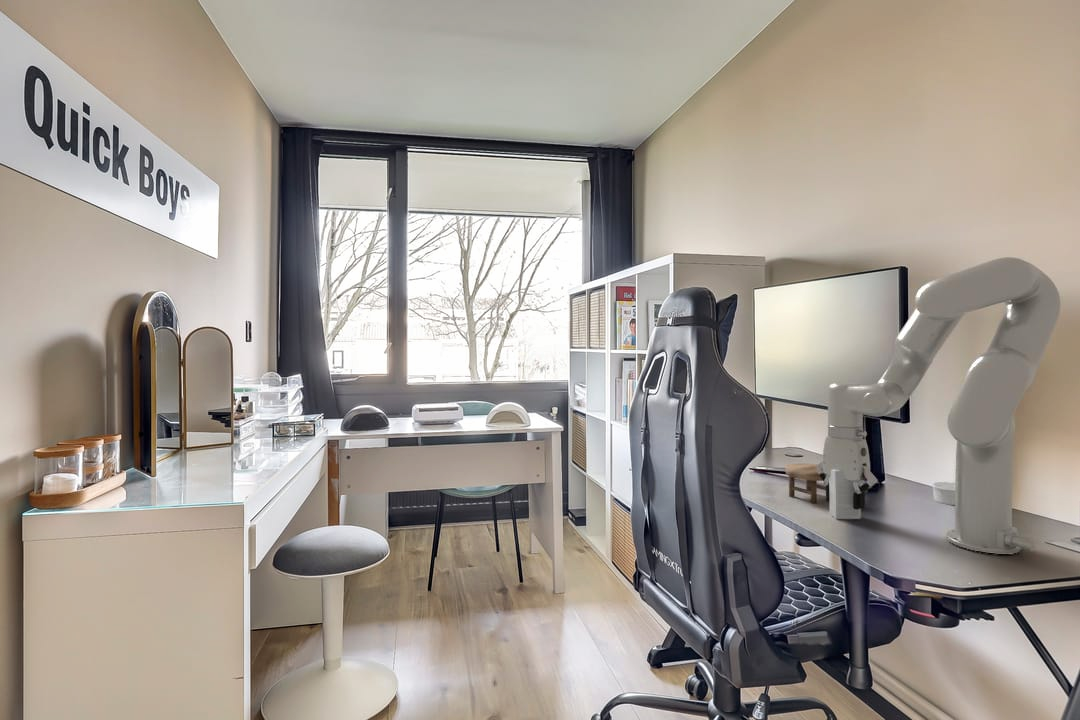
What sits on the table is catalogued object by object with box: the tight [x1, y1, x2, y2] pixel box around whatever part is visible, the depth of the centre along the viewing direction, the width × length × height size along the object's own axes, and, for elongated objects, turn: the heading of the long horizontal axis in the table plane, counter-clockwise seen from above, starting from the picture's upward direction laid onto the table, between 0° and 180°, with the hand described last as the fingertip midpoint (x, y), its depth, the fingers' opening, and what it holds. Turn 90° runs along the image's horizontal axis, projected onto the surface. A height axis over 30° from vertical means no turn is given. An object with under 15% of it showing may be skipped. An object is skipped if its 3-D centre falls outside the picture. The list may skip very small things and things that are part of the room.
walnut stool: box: [785, 463, 826, 505], centre depth 158 cm, size 13×13×8 cm
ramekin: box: [931, 481, 955, 506], centre depth 152 cm, size 9×9×4 cm
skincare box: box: [829, 469, 862, 520], centre depth 141 cm, size 6×4×12 cm
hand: (844, 504), depth 141 cm, fingers closed on skincare box, 6 cm apart
